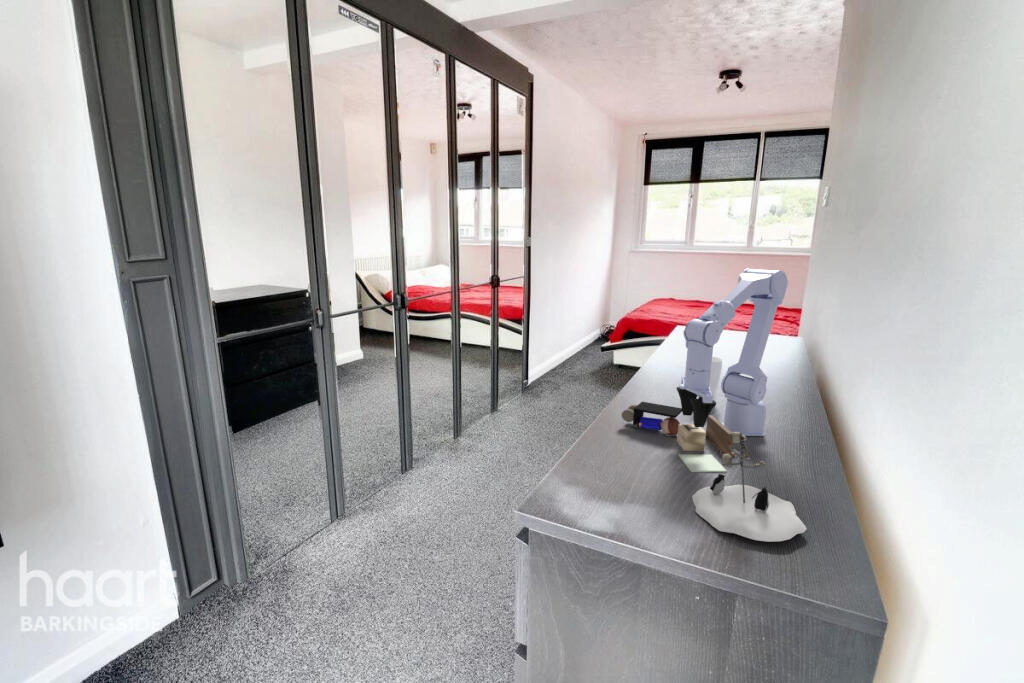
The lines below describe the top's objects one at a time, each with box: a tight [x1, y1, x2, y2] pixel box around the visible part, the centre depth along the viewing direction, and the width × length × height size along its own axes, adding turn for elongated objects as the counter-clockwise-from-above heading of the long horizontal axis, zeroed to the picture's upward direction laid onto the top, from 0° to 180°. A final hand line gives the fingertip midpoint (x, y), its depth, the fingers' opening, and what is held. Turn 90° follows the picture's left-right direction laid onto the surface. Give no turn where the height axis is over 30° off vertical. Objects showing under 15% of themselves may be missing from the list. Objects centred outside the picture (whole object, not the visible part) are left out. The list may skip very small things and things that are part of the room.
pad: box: [678, 453, 727, 473], centre depth 109 cm, size 8×8×1 cm
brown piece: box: [705, 414, 736, 458], centre depth 117 cm, size 3×12×6 cm, turn 0°
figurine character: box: [621, 401, 682, 437], centre depth 127 cm, size 7×8×15 cm
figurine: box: [691, 432, 807, 543], centre depth 88 cm, size 20×18×16 cm
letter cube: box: [676, 423, 707, 452], centre depth 117 cm, size 5×5×5 cm
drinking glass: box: [696, 356, 723, 402], centre depth 147 cm, size 7×7×15 cm
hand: (692, 420), depth 116 cm, fingers open, 7 cm apart
